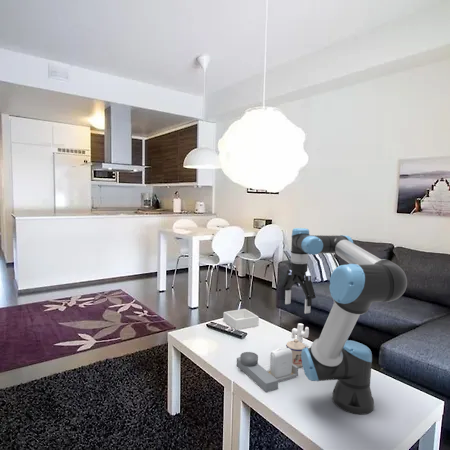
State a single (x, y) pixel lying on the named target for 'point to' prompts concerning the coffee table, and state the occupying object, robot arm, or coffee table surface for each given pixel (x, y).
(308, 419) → the coffee table surface
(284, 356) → the photo printer
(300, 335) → the figurine
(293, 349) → the teacup with lid
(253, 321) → the box
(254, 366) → the deck
